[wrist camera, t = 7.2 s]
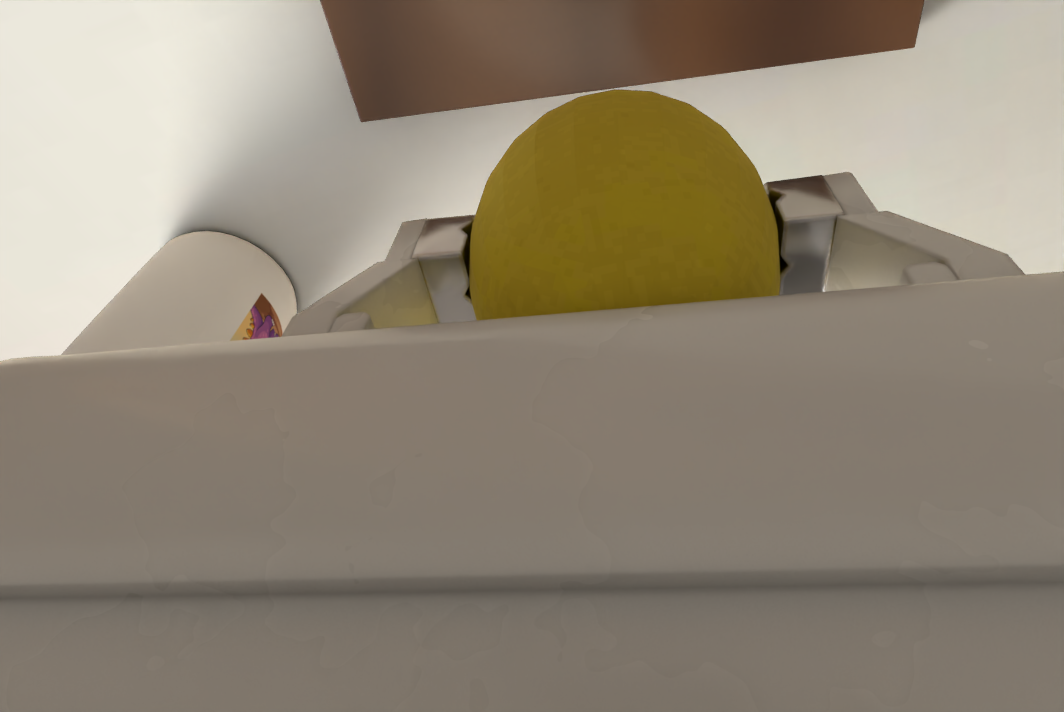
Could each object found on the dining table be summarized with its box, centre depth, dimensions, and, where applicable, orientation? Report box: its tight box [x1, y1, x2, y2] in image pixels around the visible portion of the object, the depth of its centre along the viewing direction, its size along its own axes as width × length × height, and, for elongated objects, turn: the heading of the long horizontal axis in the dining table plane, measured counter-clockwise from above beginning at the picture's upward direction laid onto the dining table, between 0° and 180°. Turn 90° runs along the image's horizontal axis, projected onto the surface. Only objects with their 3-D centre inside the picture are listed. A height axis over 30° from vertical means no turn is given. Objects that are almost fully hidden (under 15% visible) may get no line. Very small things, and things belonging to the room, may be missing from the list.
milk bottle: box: [61, 231, 297, 355], centre depth 29 cm, size 8×8×20 cm
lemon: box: [469, 90, 780, 320], centre depth 12 cm, size 6×6×8 cm
